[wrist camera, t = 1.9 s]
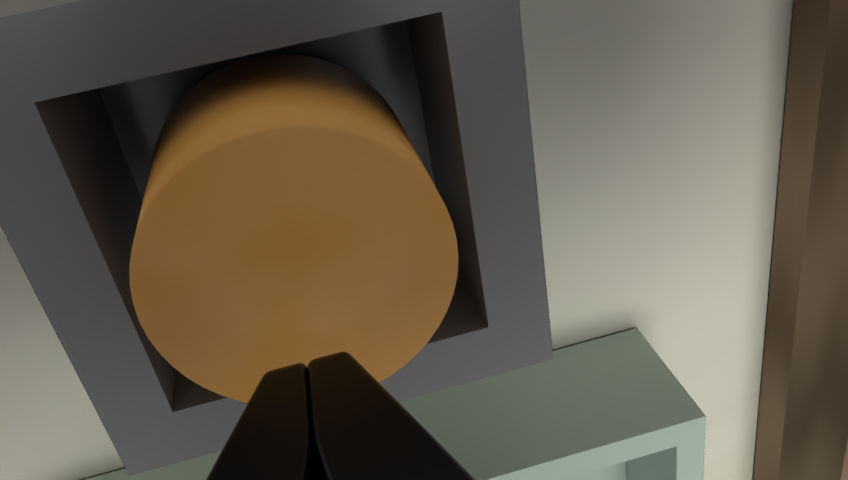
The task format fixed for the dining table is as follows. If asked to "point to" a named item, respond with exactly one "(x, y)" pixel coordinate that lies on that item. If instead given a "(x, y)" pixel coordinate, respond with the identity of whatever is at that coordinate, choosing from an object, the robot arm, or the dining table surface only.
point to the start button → (288, 228)
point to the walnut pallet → (809, 262)
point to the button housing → (134, 148)
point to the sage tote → (553, 420)
